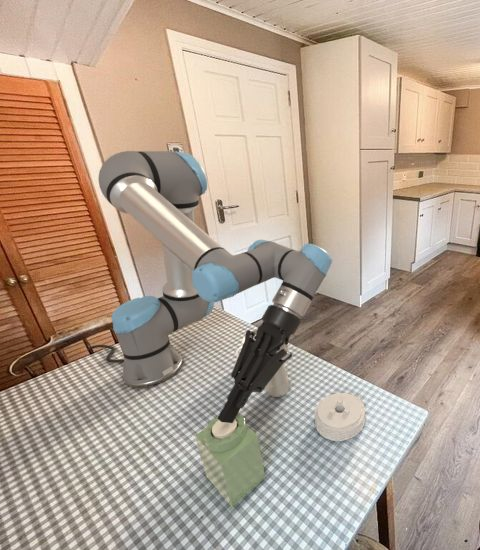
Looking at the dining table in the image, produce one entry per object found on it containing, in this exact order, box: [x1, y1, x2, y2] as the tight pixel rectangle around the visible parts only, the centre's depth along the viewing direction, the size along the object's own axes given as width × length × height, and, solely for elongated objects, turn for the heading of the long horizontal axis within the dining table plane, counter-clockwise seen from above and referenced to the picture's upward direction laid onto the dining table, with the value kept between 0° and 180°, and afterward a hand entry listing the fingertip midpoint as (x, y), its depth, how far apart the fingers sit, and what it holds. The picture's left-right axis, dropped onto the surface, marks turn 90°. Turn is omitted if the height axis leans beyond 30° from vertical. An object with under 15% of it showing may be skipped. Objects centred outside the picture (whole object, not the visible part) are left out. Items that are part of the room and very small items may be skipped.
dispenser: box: [194, 412, 266, 508], centre depth 61 cm, size 10×8×14 cm
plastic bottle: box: [265, 354, 291, 398], centre depth 83 cm, size 6×7×20 cm
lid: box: [313, 392, 366, 442], centre depth 76 cm, size 13×13×5 cm
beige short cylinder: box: [212, 419, 238, 439], centre depth 59 cm, size 4×4×3 cm
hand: (224, 420), depth 58 cm, fingers closed
